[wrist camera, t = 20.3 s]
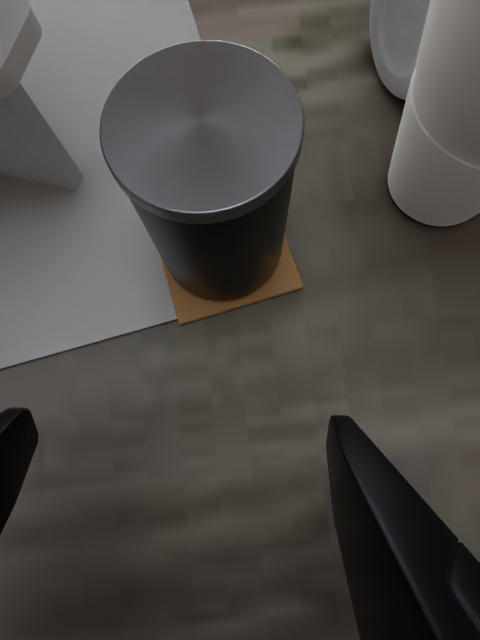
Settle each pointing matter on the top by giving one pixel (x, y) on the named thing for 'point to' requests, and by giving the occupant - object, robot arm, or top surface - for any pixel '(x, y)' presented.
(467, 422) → the top surface
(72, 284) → the file organizer
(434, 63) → the paper towel roll
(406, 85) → the pill bottle
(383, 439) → the top surface
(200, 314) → the cork coaster
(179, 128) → the black lidded canister
